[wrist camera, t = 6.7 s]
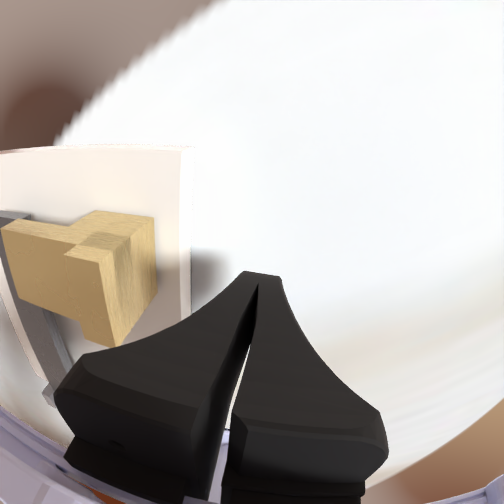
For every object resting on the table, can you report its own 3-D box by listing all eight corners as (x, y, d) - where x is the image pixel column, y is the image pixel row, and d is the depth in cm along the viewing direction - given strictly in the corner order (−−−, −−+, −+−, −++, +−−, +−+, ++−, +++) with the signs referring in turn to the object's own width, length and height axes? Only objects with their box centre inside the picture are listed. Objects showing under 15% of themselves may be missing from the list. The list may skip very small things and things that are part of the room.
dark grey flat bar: (95, 408, 19) (88, 420, 18) (67, 395, 19) (59, 406, 18) (34, 212, 12) (15, 222, 11) (4, 208, 12) (-13, 217, 11)
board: (196, 421, 21) (183, 462, 17) (44, 365, 22) (23, 392, 18) (194, 146, 12) (152, 161, 8) (-12, 152, 13) (-55, 168, 10)
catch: (157, 292, 13) (117, 350, 10) (55, 267, 14) (8, 306, 10) (154, 217, 12) (98, 262, 8) (45, 204, 12) (-12, 235, 9)
